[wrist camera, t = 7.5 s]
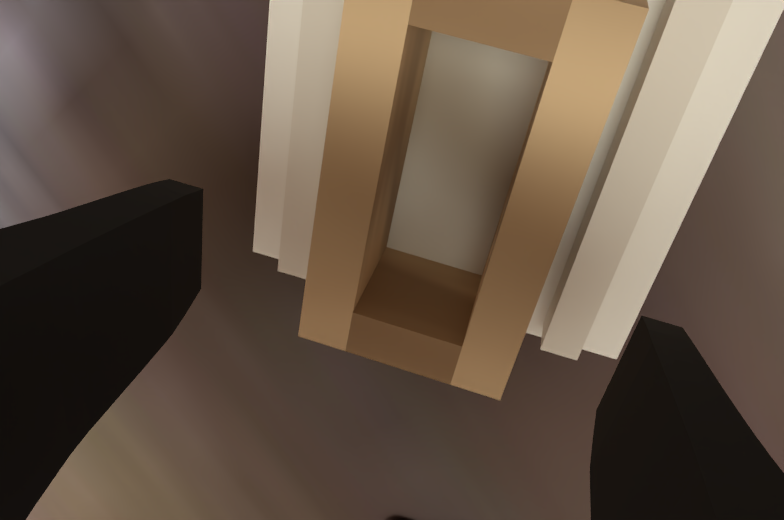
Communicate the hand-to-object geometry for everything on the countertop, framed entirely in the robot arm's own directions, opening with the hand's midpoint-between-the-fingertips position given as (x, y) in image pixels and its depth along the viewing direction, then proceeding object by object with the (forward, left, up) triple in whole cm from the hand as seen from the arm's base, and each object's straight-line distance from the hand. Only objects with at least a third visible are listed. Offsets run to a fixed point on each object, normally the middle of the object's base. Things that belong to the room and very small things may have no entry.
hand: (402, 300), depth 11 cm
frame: (0, 0, -7) cm, 7 cm away
